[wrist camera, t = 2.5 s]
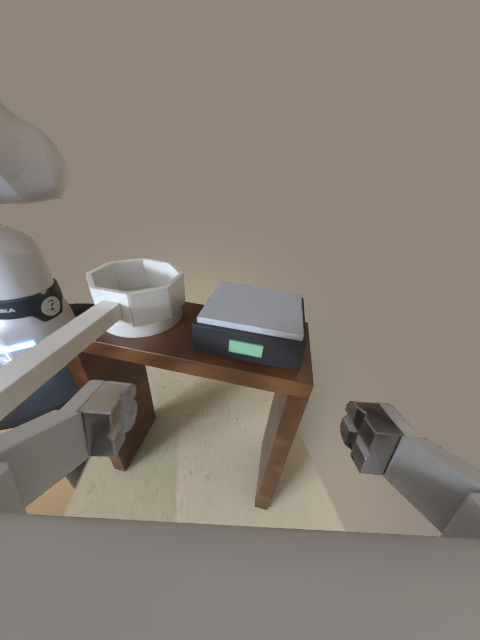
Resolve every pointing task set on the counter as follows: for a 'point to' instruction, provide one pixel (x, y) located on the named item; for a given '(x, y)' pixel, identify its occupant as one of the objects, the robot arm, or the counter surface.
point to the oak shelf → (177, 355)
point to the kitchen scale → (252, 326)
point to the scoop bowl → (100, 322)
